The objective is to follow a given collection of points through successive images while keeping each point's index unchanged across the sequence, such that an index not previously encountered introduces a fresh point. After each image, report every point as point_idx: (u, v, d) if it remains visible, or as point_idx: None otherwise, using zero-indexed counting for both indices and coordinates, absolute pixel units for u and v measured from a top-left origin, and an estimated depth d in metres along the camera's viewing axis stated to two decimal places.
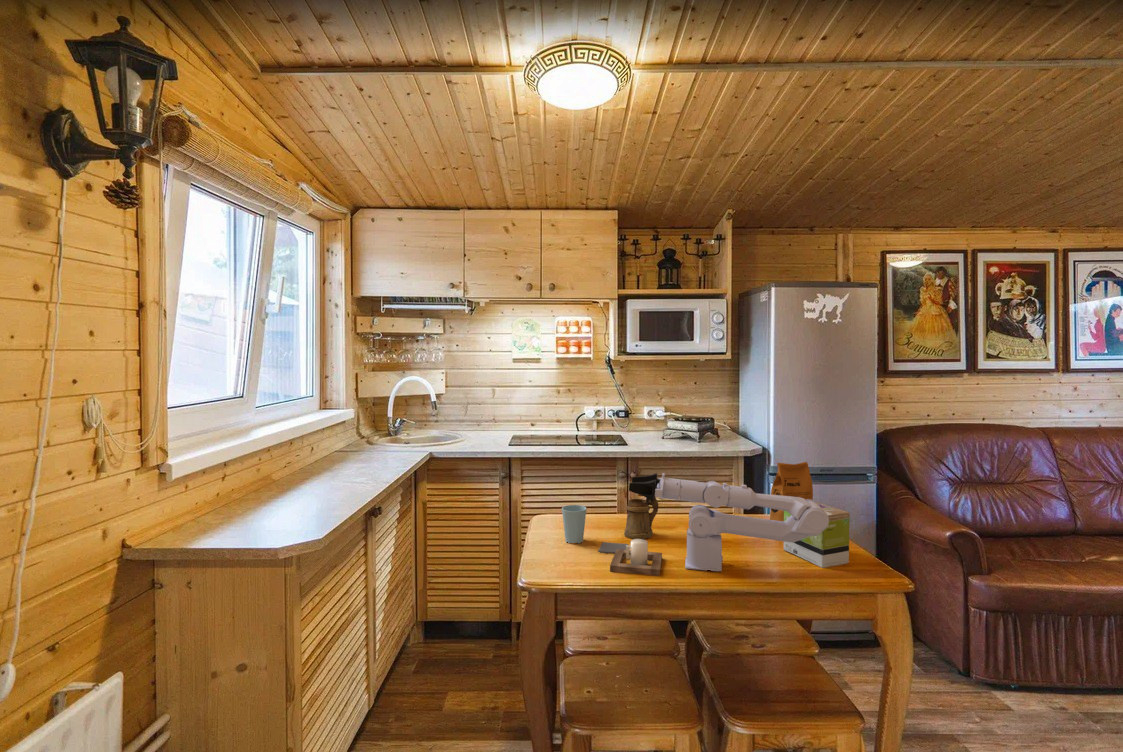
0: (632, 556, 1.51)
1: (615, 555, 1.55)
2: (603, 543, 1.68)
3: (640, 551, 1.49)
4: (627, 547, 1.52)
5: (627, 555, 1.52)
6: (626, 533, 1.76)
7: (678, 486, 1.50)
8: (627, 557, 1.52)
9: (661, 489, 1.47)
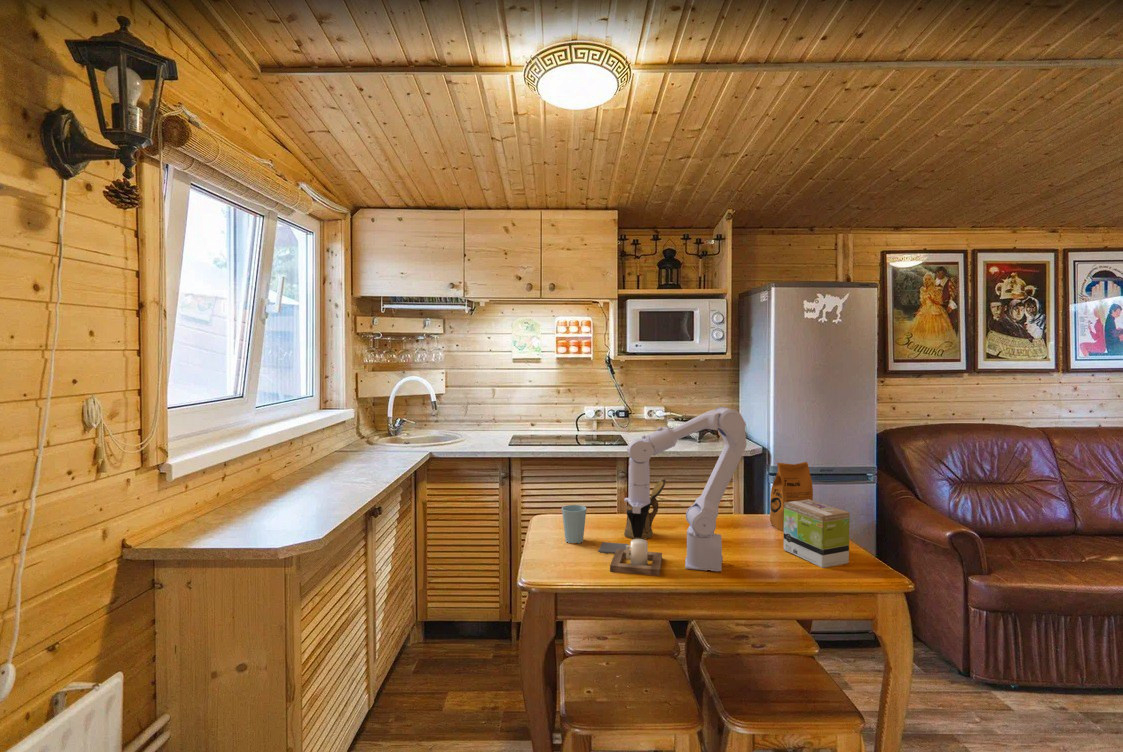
0: (632, 556, 1.51)
1: (615, 555, 1.55)
2: (603, 543, 1.68)
3: (640, 551, 1.49)
4: (627, 547, 1.52)
5: (627, 555, 1.52)
6: (626, 533, 1.76)
7: (633, 486, 1.49)
8: (627, 557, 1.52)
9: (632, 506, 1.45)
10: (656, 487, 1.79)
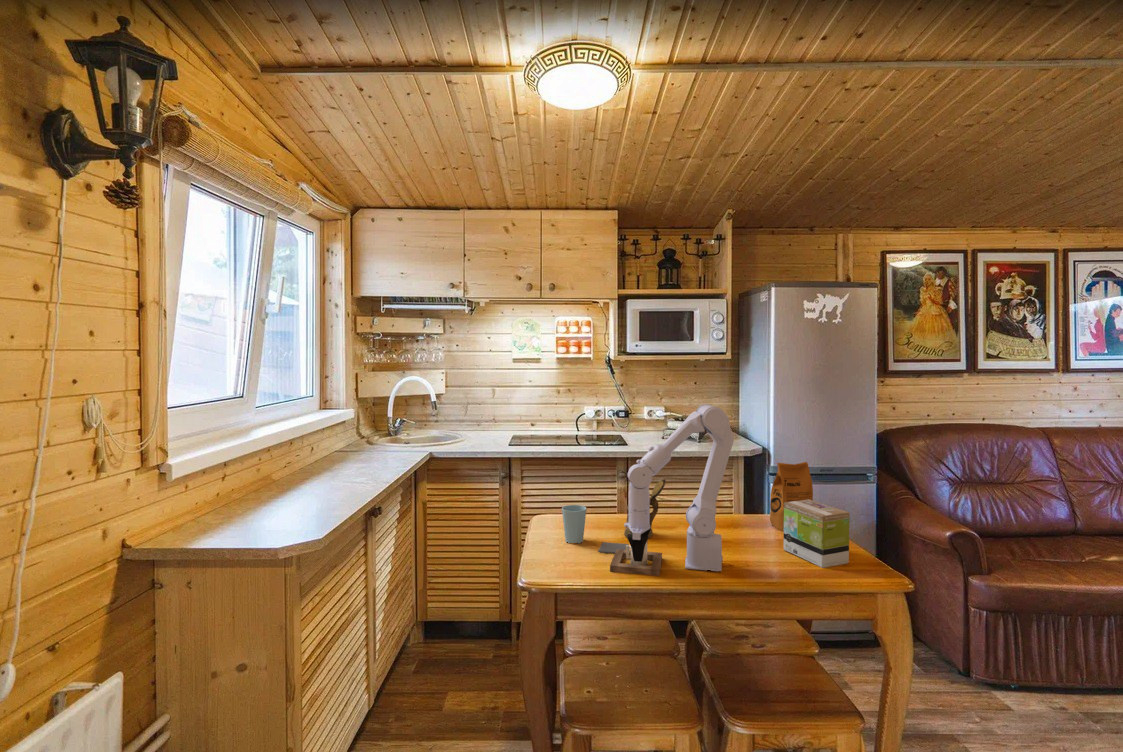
0: (632, 556, 1.51)
1: (615, 555, 1.55)
2: (603, 543, 1.68)
3: None
4: (627, 547, 1.52)
5: (627, 555, 1.52)
6: (626, 533, 1.76)
7: (632, 512, 1.49)
8: (627, 557, 1.52)
9: (632, 532, 1.45)
10: (656, 487, 1.79)
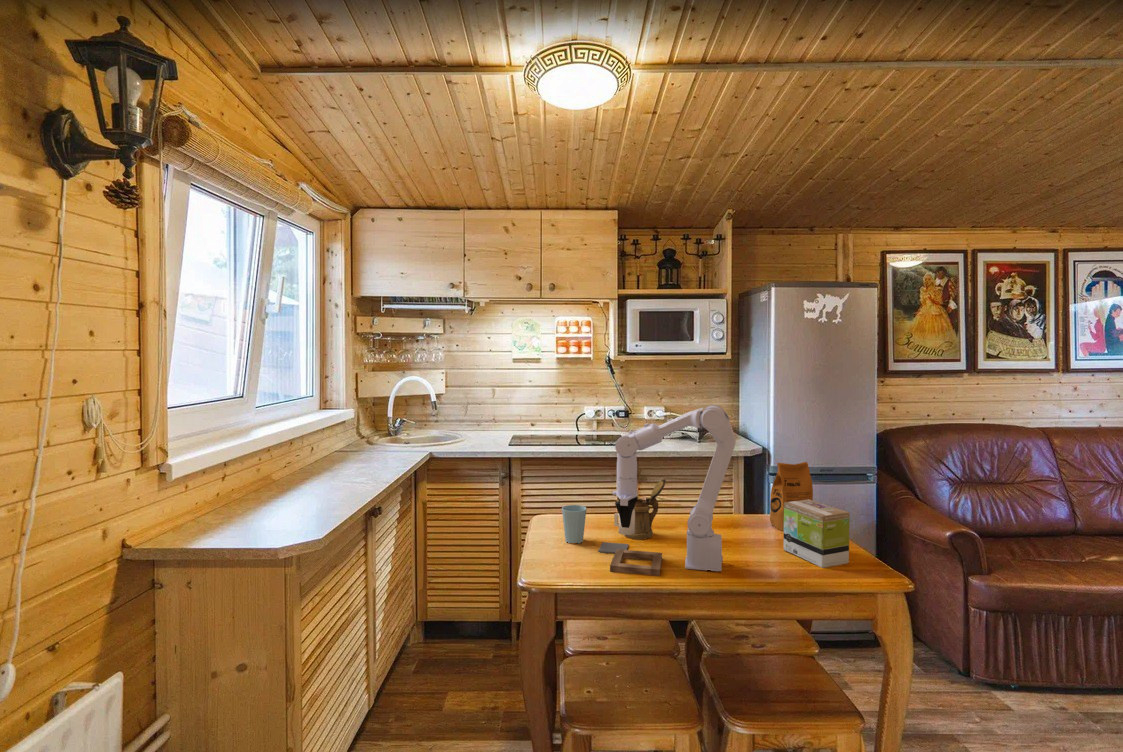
0: (620, 523, 1.56)
1: (615, 555, 1.55)
2: (603, 543, 1.68)
3: None
4: (615, 515, 1.58)
5: (615, 523, 1.58)
6: None
7: (620, 480, 1.55)
8: (615, 525, 1.58)
9: (620, 499, 1.51)
10: (656, 487, 1.79)
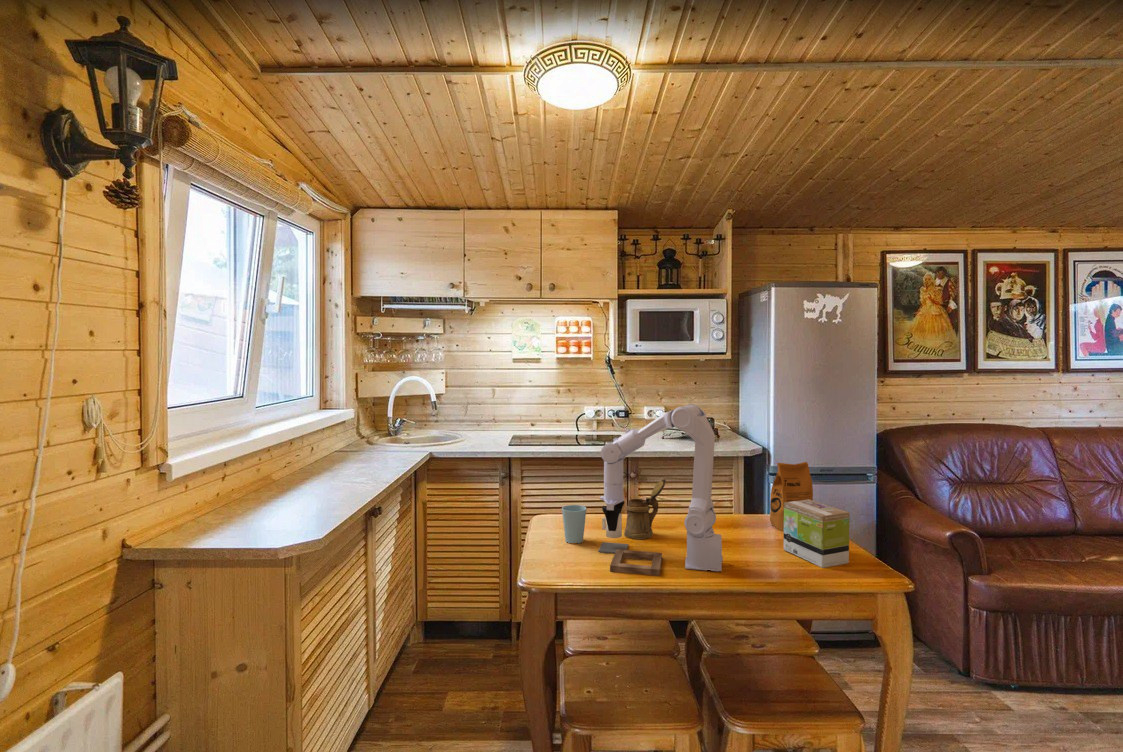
0: (607, 527, 1.63)
1: (615, 555, 1.55)
2: (603, 543, 1.68)
3: None
4: (603, 519, 1.65)
5: (603, 526, 1.65)
6: (626, 533, 1.76)
7: (607, 485, 1.62)
8: (603, 528, 1.65)
9: (606, 504, 1.58)
10: (656, 487, 1.79)
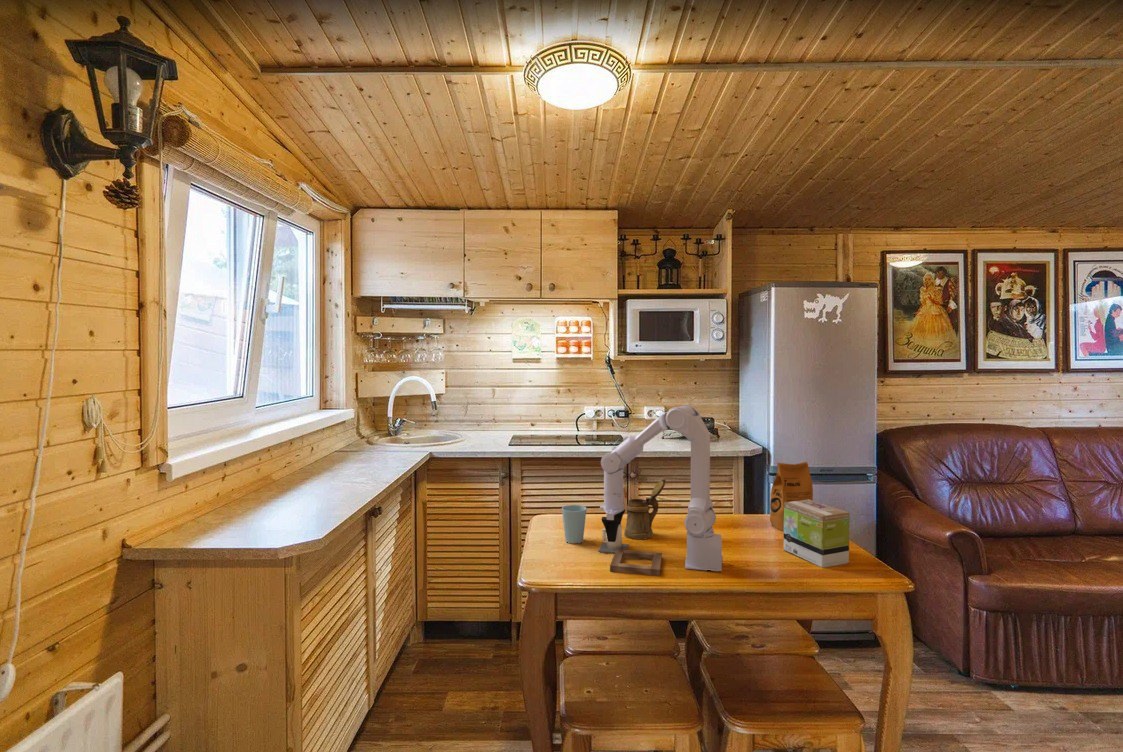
0: (607, 539, 1.64)
1: (615, 555, 1.55)
2: (603, 543, 1.68)
3: None
4: (603, 530, 1.65)
5: (603, 538, 1.65)
6: (626, 533, 1.76)
7: (607, 495, 1.62)
8: (603, 540, 1.65)
9: (606, 513, 1.58)
10: (656, 487, 1.79)
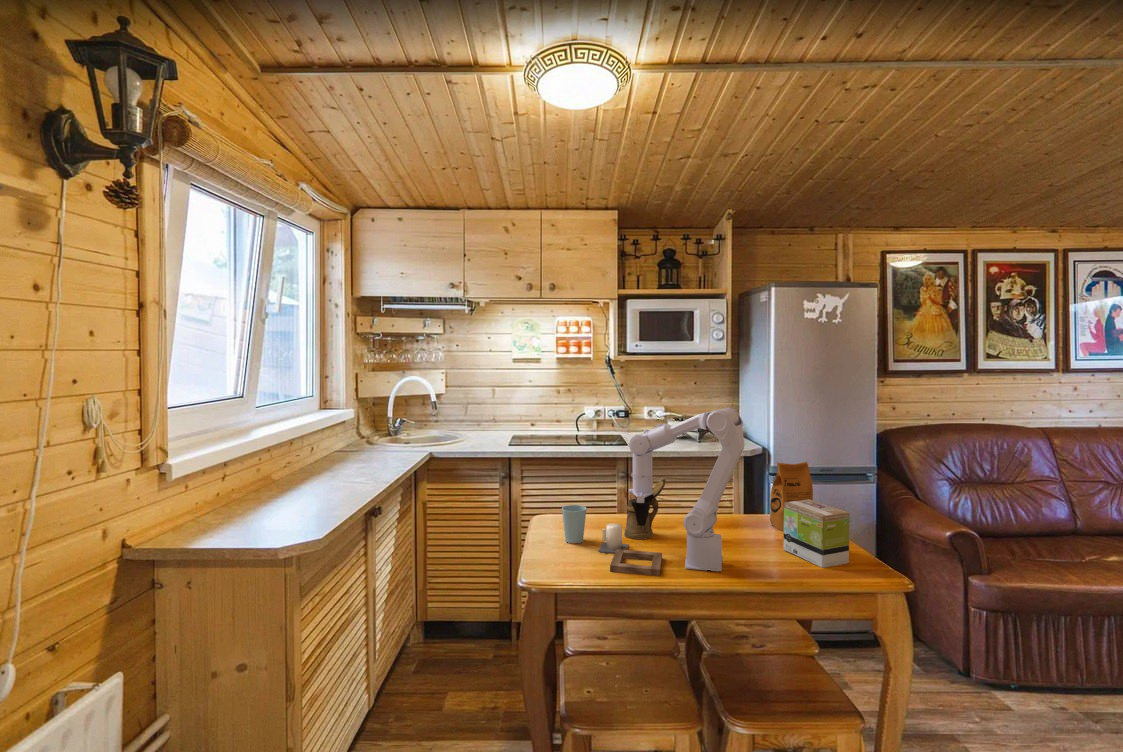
0: (607, 539, 1.64)
1: (615, 555, 1.55)
2: (603, 543, 1.68)
3: (614, 534, 1.62)
4: (603, 530, 1.65)
5: (603, 538, 1.65)
6: (626, 533, 1.76)
7: (636, 478, 1.58)
8: (603, 540, 1.65)
9: (636, 496, 1.54)
10: (656, 487, 1.79)
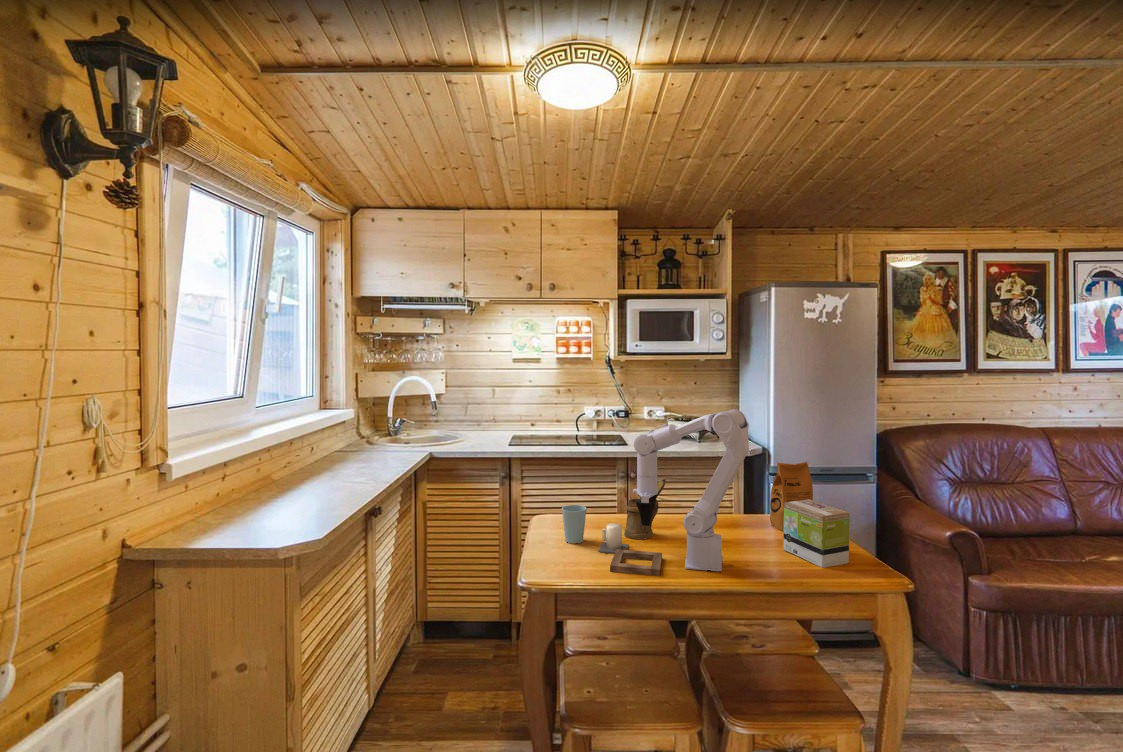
0: (607, 539, 1.64)
1: (615, 555, 1.55)
2: (603, 543, 1.68)
3: (614, 534, 1.62)
4: (603, 530, 1.65)
5: (603, 538, 1.65)
6: (626, 533, 1.76)
7: (641, 478, 1.58)
8: (603, 540, 1.65)
9: None
10: None
